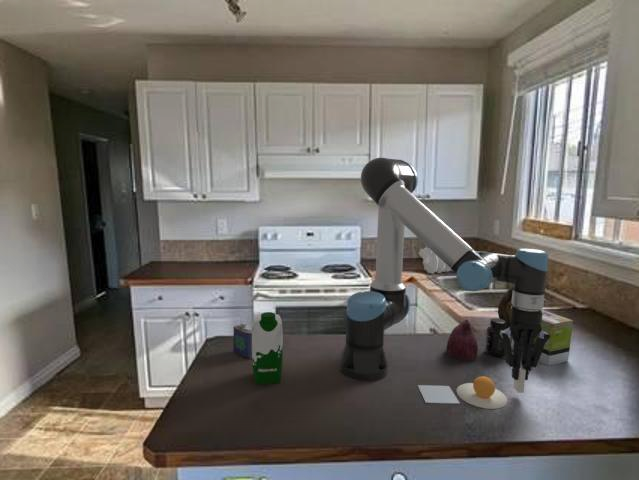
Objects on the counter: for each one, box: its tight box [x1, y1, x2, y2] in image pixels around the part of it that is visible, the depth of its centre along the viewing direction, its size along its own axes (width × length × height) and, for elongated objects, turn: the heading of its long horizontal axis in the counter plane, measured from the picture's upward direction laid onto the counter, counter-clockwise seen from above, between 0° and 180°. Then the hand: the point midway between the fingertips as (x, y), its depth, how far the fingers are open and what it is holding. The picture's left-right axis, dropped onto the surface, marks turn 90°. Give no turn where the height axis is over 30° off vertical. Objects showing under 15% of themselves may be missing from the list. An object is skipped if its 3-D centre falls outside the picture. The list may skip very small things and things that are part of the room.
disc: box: [456, 382, 508, 410], centre depth 109 cm, size 13×13×1 cm
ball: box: [472, 375, 496, 398], centre depth 108 cm, size 6×6×6 cm
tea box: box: [511, 308, 574, 366], centre depth 136 cm, size 15×10×15 cm, turn 23°
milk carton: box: [251, 311, 284, 386], centre depth 114 cm, size 9×9×20 cm
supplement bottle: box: [484, 317, 506, 359], centre depth 136 cm, size 7×7×12 cm
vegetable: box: [445, 318, 479, 362], centre depth 133 cm, size 10×10×15 cm
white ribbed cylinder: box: [418, 246, 453, 275], centre depth 261 cm, size 18×18×25 cm
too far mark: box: [417, 384, 461, 405], centre depth 109 cm, size 9×9×1 cm
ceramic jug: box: [497, 285, 513, 329], centre depth 157 cm, size 17×15×30 cm
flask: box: [232, 323, 252, 360], centre depth 130 cm, size 9×3×11 cm, turn 50°
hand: (518, 390), depth 109 cm, fingers closed
